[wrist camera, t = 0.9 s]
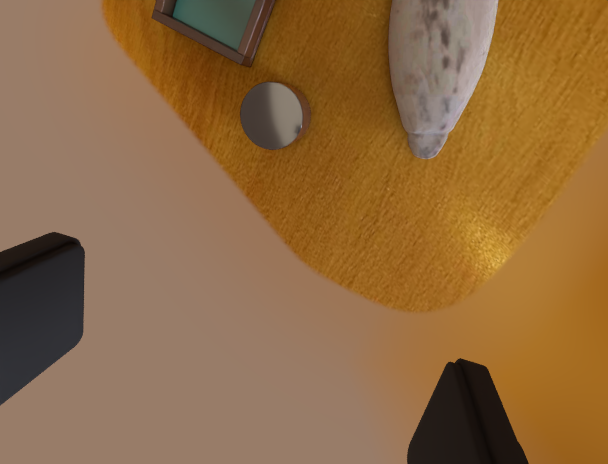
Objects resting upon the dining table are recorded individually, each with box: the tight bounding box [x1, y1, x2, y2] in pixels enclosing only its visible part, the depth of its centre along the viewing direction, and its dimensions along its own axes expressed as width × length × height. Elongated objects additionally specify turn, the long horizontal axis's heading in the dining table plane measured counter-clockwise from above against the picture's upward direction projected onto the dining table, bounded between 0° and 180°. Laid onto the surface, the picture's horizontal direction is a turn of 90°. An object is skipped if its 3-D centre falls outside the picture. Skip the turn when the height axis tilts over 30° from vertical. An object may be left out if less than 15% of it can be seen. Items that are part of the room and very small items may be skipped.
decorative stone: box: [388, 0, 498, 159], centre depth 23 cm, size 6×16×3 cm, turn 1°
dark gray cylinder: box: [240, 82, 311, 150], centre depth 26 cm, size 4×4×3 cm
